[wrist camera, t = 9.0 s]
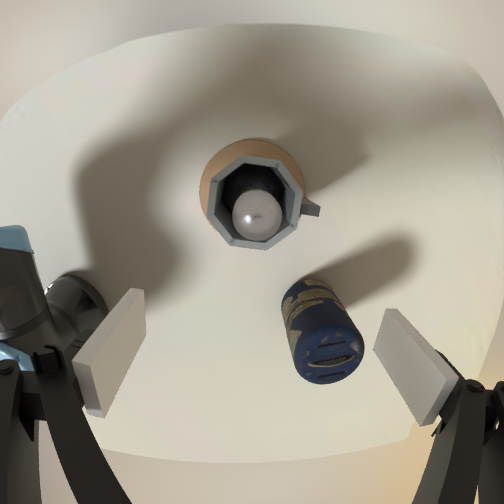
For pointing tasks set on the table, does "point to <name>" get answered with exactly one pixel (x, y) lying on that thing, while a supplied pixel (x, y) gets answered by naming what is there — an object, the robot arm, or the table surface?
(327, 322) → the canister
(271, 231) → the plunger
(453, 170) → the table surface
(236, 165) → the press carafe
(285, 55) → the table surface
